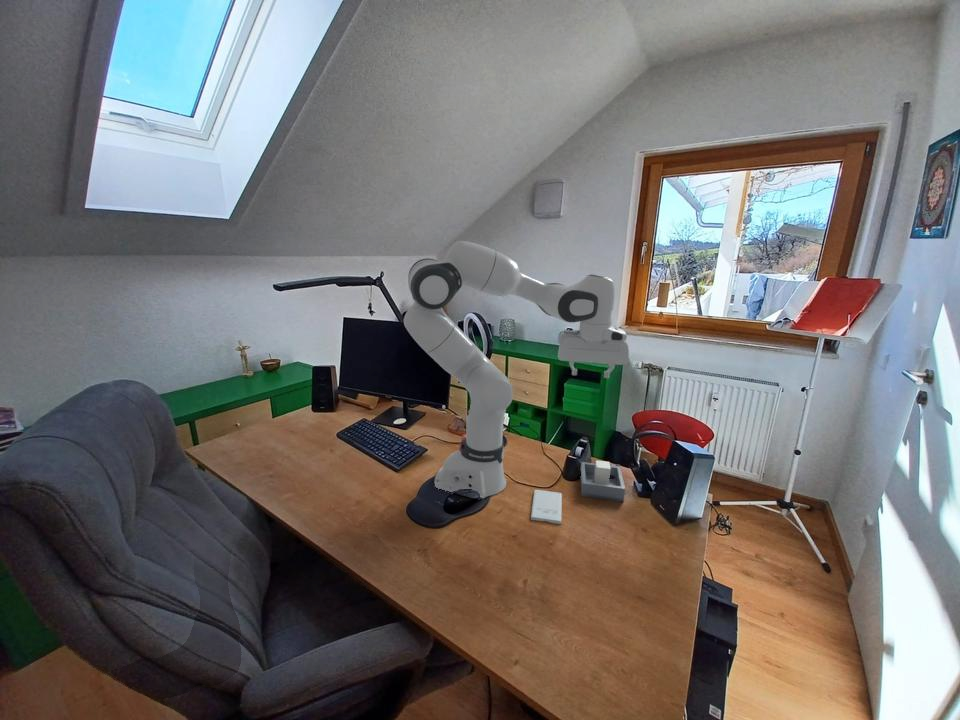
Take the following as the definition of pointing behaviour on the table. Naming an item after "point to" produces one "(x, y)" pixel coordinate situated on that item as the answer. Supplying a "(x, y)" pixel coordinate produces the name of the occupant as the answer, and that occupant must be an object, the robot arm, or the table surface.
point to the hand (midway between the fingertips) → (590, 376)
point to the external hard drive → (547, 506)
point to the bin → (602, 491)
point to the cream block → (602, 472)
